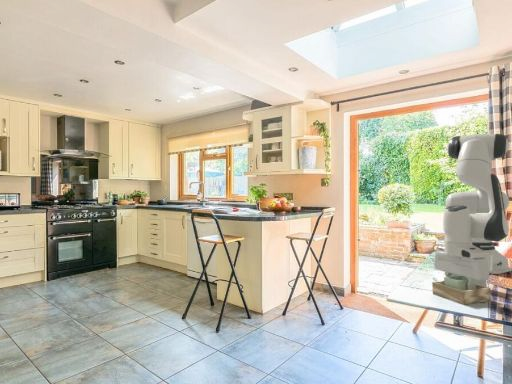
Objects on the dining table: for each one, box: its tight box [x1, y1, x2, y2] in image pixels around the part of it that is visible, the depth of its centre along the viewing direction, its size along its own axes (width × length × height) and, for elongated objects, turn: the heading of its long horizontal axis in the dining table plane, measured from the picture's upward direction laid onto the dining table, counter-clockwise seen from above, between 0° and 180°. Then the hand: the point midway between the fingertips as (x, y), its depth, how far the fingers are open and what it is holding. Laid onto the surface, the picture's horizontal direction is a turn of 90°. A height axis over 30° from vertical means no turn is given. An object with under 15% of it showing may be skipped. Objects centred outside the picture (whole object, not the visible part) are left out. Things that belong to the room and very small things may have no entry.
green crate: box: [443, 275, 476, 291], centre depth 116 cm, size 8×6×5 cm
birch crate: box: [431, 280, 492, 305], centre depth 116 cm, size 12×13×4 cm
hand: (460, 286), depth 116 cm, fingers closed on green crate, 6 cm apart
